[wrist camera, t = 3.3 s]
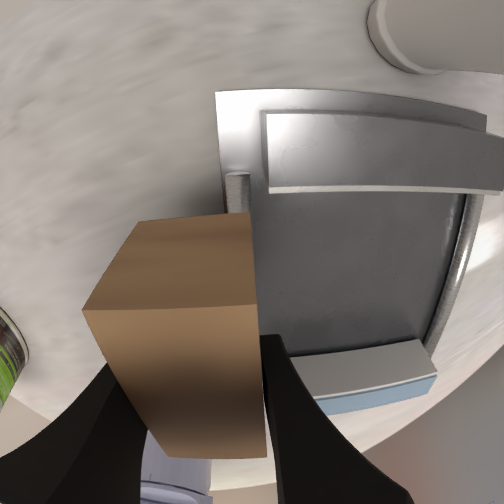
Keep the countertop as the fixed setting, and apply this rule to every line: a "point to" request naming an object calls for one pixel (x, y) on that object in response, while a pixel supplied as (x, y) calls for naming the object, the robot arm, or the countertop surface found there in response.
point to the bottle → (439, 34)
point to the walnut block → (186, 334)
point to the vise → (355, 211)
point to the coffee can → (10, 355)
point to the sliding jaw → (367, 376)
